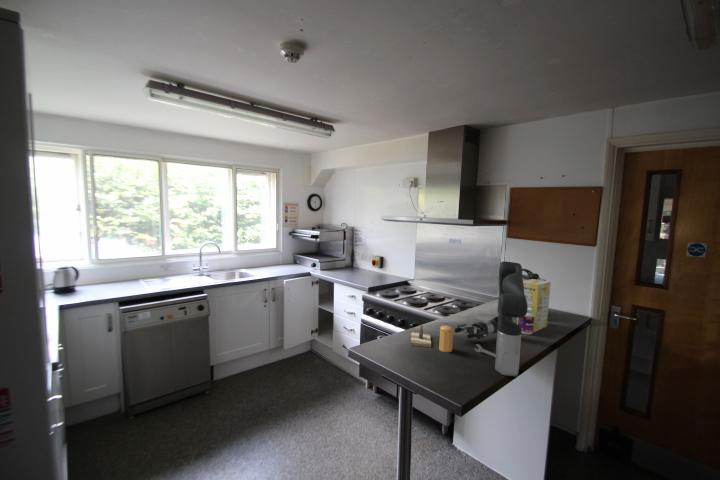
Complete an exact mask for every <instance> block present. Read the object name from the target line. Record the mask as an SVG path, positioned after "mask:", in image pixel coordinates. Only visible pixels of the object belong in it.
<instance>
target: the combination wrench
mask: <svg viewBox="0 0 720 480" xmlns="http://www.w3.org/2000/svg"><path fill="white" fill-rule="evenodd" d="M475 346H477V348H478V349H477V348H476V347H474V350H475V352H477V353H483V354H486V355H488V356H490V357H493V358H496V353H493V352H491V351H488V350H486V349H485V348H483V347H482V346H481V344H478V343H476V344H475Z"/></svg>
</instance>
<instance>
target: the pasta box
mask: <svg viewBox="0 0 720 480" xmlns="http://www.w3.org/2000/svg"><path fill="white" fill-rule="evenodd" d="M523 284H524V294H525V297H526V300H527V305H528V308H531V309H532V313H533V314H534V326H533V333H537V332H538V331H540V330H542V329H544V328H547V327H548V317H549V316H548V315H549V305H550V293H551V292H550V291H551V281H547V280H546V281H542V280H536V279H530V280H525V281H523ZM516 324H518V317H516Z"/></svg>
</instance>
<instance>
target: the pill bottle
mask: <svg viewBox="0 0 720 480" xmlns="http://www.w3.org/2000/svg"><path fill="white" fill-rule="evenodd" d="M518 325H519V326H520V327H521V328H522V333H521V335H522V334H523V335H527V336H528V335H532V334H533V333H534V332H533V326H534V314H533V313H532V309H531V308H528V309H527V314H526V315H525V316H524V317H522V318H518Z"/></svg>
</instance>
